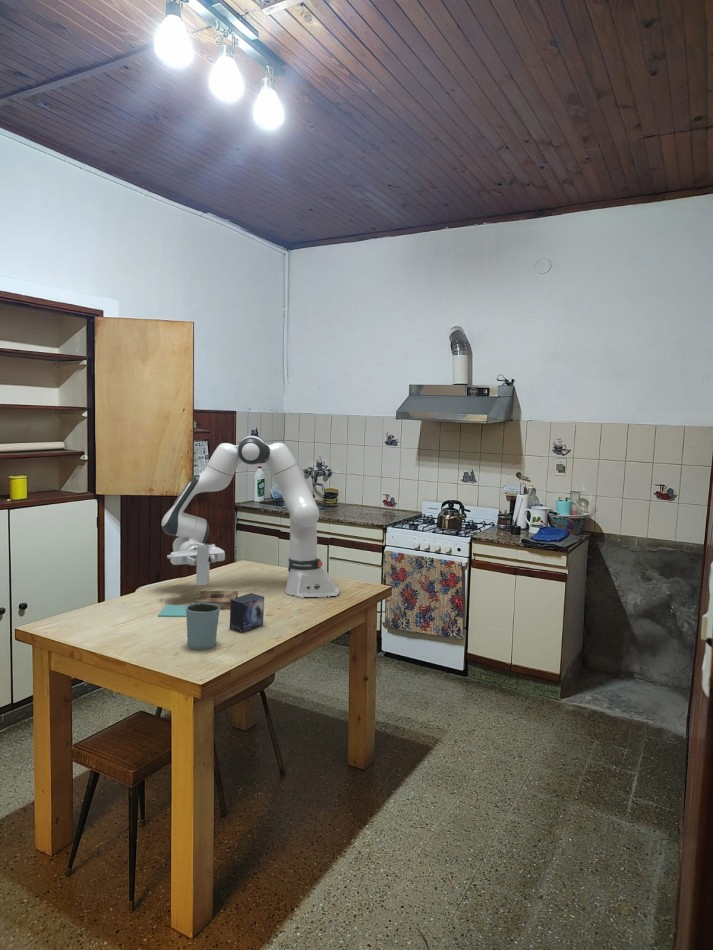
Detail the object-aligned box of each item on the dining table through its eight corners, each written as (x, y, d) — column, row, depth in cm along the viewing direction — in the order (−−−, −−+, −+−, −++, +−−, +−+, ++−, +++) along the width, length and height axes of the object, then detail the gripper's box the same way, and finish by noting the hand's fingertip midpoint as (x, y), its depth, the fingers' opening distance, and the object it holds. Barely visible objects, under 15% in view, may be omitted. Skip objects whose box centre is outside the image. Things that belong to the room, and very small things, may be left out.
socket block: (237, 598, 239) (237, 591, 239) (233, 609, 225) (233, 601, 225) (201, 598, 238) (201, 590, 238) (194, 609, 224) (194, 601, 224)
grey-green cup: (181, 642, 191) (181, 604, 190) (211, 636, 197) (212, 600, 196) (192, 652, 183) (193, 613, 182) (224, 646, 189) (225, 608, 188)
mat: (198, 606, 227) (198, 605, 227) (192, 617, 215) (192, 615, 215) (165, 606, 226) (165, 605, 226) (157, 616, 214) (157, 615, 214)
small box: (242, 634, 201) (243, 602, 200) (228, 629, 204) (229, 599, 203) (264, 625, 210) (265, 595, 209) (250, 621, 213) (251, 592, 212)
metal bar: (209, 581, 229) (210, 545, 228) (207, 584, 225) (208, 547, 224) (198, 581, 229) (199, 545, 228) (196, 584, 225) (197, 547, 224)
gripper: (165, 547, 232) (175, 555, 220) (217, 543, 242) (230, 550, 231) (165, 563, 232) (175, 572, 220) (217, 559, 243) (229, 567, 231)
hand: (204, 561), depth 226 cm, fingers closed on metal bar, 5 cm apart
